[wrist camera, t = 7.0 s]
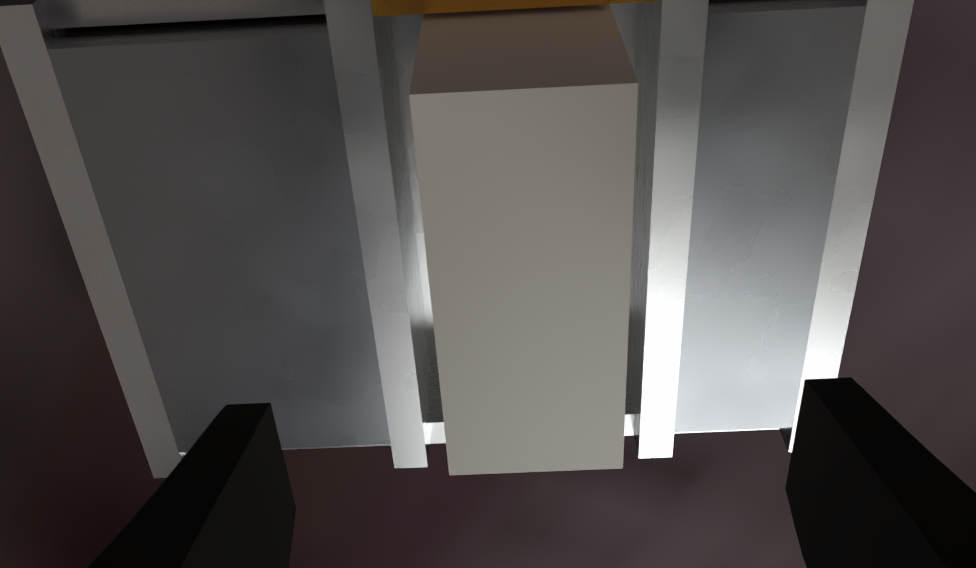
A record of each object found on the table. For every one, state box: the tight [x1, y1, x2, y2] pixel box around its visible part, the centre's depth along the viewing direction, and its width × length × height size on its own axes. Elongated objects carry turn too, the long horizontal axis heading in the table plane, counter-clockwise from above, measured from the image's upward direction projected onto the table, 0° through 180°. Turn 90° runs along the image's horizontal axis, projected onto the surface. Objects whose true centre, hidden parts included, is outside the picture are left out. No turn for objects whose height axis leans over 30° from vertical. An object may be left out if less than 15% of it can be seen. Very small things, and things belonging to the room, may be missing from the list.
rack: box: [0, 0, 914, 478], centre depth 18 cm, size 10×14×3 cm
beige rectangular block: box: [409, 4, 638, 475], centre depth 16 cm, size 7×3×5 cm, turn 3°
